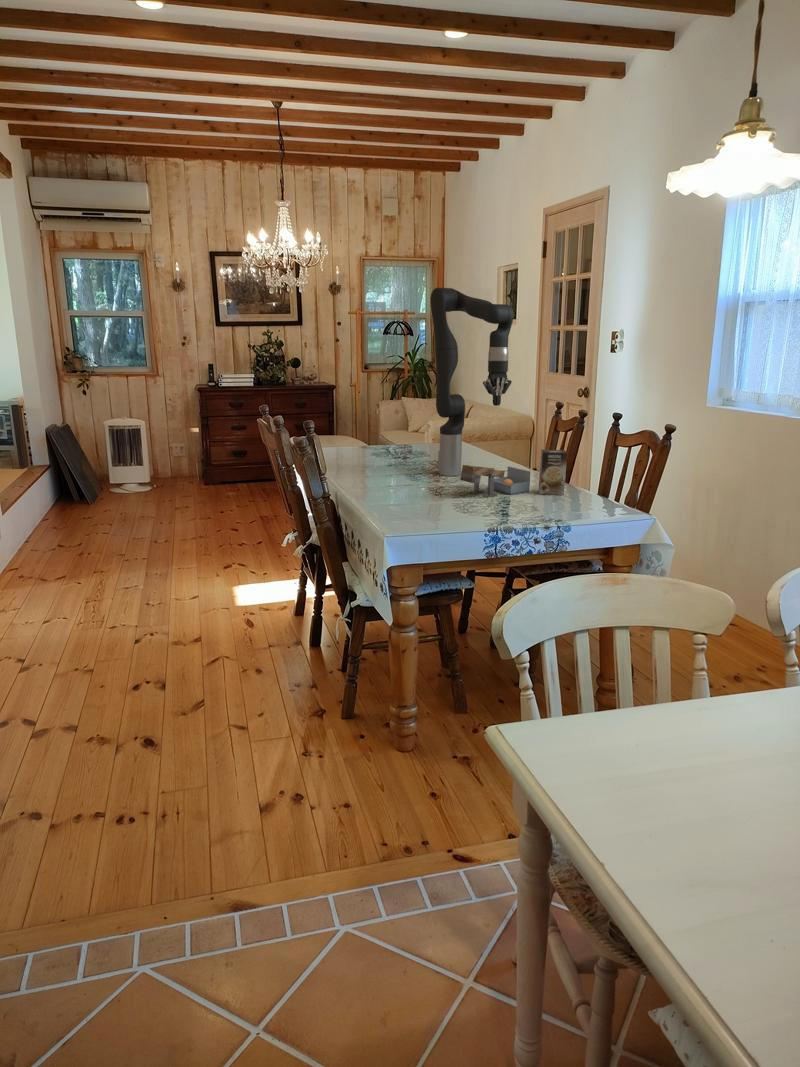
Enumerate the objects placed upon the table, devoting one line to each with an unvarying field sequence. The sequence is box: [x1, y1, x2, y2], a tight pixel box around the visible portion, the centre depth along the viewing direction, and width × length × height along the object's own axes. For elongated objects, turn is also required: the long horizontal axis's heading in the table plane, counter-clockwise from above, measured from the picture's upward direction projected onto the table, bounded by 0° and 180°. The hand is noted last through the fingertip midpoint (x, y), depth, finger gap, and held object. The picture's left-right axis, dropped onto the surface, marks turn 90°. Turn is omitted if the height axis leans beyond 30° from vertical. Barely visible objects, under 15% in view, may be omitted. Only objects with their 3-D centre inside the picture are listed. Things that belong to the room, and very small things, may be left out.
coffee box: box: [538, 449, 568, 496], centre depth 278 cm, size 9×6×16 cm
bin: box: [493, 465, 531, 496], centre depth 283 cm, size 9×12×8 cm
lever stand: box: [469, 473, 498, 499], centre depth 276 cm, size 5×11×9 cm, turn 33°
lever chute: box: [460, 464, 506, 485], centre depth 279 cm, size 15×15×6 cm
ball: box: [503, 479, 513, 485], centre depth 283 cm, size 4×4×4 cm
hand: (496, 405), depth 287 cm, fingers closed
